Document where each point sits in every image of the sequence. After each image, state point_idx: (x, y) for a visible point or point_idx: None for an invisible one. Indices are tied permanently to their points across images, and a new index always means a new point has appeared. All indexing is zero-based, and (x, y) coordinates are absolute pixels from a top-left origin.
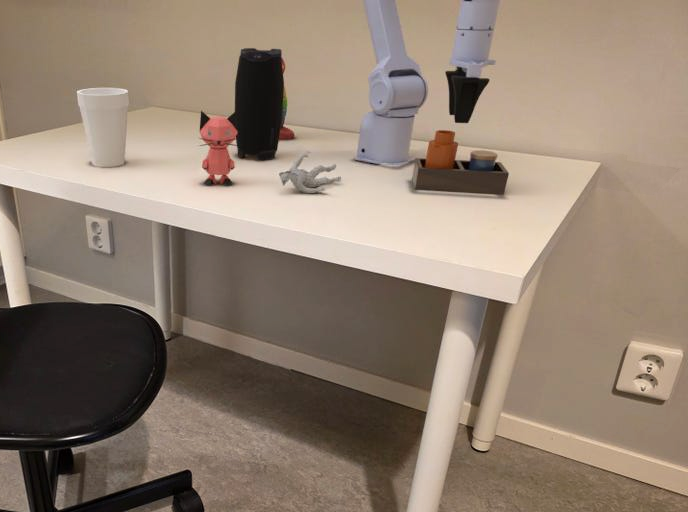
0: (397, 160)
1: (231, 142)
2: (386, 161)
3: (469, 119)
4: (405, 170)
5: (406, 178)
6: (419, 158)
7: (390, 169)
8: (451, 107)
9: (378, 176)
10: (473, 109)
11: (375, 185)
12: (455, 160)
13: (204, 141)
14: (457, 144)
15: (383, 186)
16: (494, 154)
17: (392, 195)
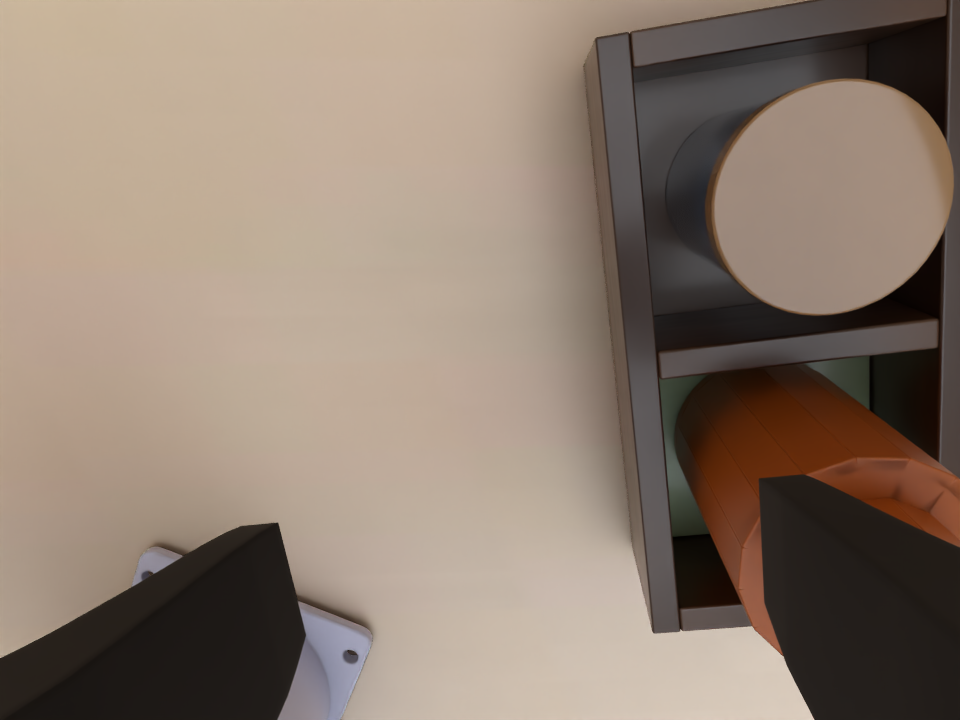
0: (307, 654)
1: None
2: (328, 700)
3: (828, 486)
4: (390, 585)
5: (569, 574)
6: (661, 610)
7: (400, 657)
8: (273, 691)
9: (576, 704)
10: (915, 529)
11: (769, 708)
12: (648, 384)
13: None
14: (917, 462)
15: (779, 673)
16: (855, 109)
17: None
